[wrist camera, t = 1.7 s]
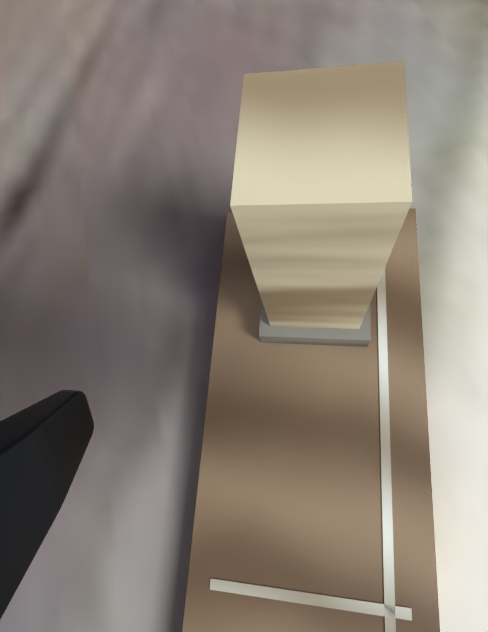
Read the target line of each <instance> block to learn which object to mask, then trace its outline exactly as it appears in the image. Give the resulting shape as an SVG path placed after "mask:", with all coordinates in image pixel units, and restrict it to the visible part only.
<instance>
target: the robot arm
mask: <svg viewBox="0 0 488 632" xmlns="http://www.w3.org/2000/svg"><path fill="white" fill-rule="evenodd" d="M93 429H94V423H93V419H92V415H91V412H90V409H89V405H88V402H87V399H86V396H85V394H84V393H83V392H81V391H74V390H62V391H59V392H57V393H55V394H53V395H51V396H49V397H47V398H45V399H43V400H41V401H39V402H37V403H35V404H34V405H32V406H30V407H28V408H26V409H24V410H22V411H20V412H18V413H16V414H14V415H12V416H10V417H8V418H6V419H4V420H2V421H0V619H1V617H2V615H3V614H4V612H5V610H6V608H7V606H8V604H9V603H10V601H11V599H12V597H13V595H14V593H15V592H16V590H17V588H18V586H19V584H20V582H21V580H22V579H23V577H24V575H25V573H26V571H27V569H28V568H29V566H30V564H31V562H32V560H33V558H34V556H35V555H36V553H37V551H38V549H39V547H40V545H41V544H42V542H43V540H44V538H45V536H46V534H47V533H48V531H49V529H50V527H51V525H52V523H53V521H54V520H55V518H56V516H57V514H58V512H59V510H60V508H61V506H62V504H63V502H64V500H65V497H66V495H67V493H68V491H69V488H70V486H71V484H72V481H73V479H74V477H75V474H76V472H77V469H78V467H79V465H80V462H81V460H82V458H83V455H84V453H85V451H86V448H87V446H88V444H89V441H90V439H91V437H92V434H93Z"/></svg>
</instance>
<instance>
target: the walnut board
mask: <svg viewBox="0 0 488 632" xmlns="http://www.w3.org/2000/svg"><path fill="white" fill-rule="evenodd" d="M370 312H371V341H370V343H369V345H368V346H367V347H359V346H334V345H310V344H285V343H262V342H261V340H260V337H259V328H260V314H261V297H260V294H259V291H258V288H257V285H256V282H255V279H254V276H253V273H252V270H251V267H250V264H249V261H248V258H247V255H246V252H245V249H244V246H243V243H242V240H241V237H240V234H239V231H238V228H237V225H236V221H235V218H234V215H233V212H227V219H226V228H225V237H224V247H223V256H222V265H221V274H220V284H219V293H218V302H217V312H216V321H215V330H214V340H213V349H212V358H211V368H210V377H209V386H208V396H207V405H206V414H205V424H204V433H203V442H202V451H201V461H200V470H199V479H198V489H197V498H196V507H195V517H194V526H193V535H192V545H191V554H190V563H189V573H188V582H187V591H186V601H185V610H184V619H183V628H182V632H440V625H439V608H438V591H437V573H436V556H435V539H434V522H433V504H432V487H431V470H430V453H429V435H428V418H427V401H426V384H425V366H424V349H423V332H422V315H421V297H420V280H419V263H418V246H417V229H416V211H415V209H409V211H408V213H407V215H406V218H405V220H404V223H403V225H402V227H401V230H400V232H399V235H398V237H397V240H396V242H395V244H394V247H393V249H392V252H391V254H390V256H389V259H388V261H387V264H386V266H385V268H384V271H383V273H382V276H381V278H380V280H379V283H378V285H377V288H376V290H375V292H374V295H373V297H372V300H371V302H370Z"/></svg>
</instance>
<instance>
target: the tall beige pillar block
mask: <svg viewBox="0 0 488 632" xmlns="http://www.w3.org/2000/svg"><path fill="white" fill-rule="evenodd" d="M411 203H412V189H411V171H410V153H409V135H408V117H407V99H406V81H405V63H404V61H401V62H389V63H376V64H364V65H352V66H339V67H327V68H314V69H302V70H289V71H277V72H265V73H252V74H244V80H243V89H242V99H241V108H240V118H239V127H238V137H237V146H236V156H235V165H234V175H233V184H232V194H231V203H230V206H231V209H232V212H233V215H234V218H235V221H236V225H237V228H238V231H239V234H240V237H241V240H242V243H243V246H244V249H245V252H246V255H247V258H248V261H249V264H250V267H251V270H252V273H253V276H254V279H255V282H256V285H257V288H258V291H259V294H260V297H261V314H260V328H259V337H260V340H261V342H262V343H285V344H310V345H334V346H359V347H367V346H368V345H369V343H370V341H371V312H370V302H371V300H372V297H373V295H374V292H375V290H376V288H377V285H378V283H379V280H380V278H381V276H382V273H383V271H384V268H385V266H386V264H387V261H388V259H389V256H390V254H391V252H392V249H393V247H394V244H395V242H396V240H397V237H398V235H399V232H400V230H401V227H402V225H403V223H404V220H405V218H406V215H407V213H408V211H409V208H410V206H411Z"/></svg>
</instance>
